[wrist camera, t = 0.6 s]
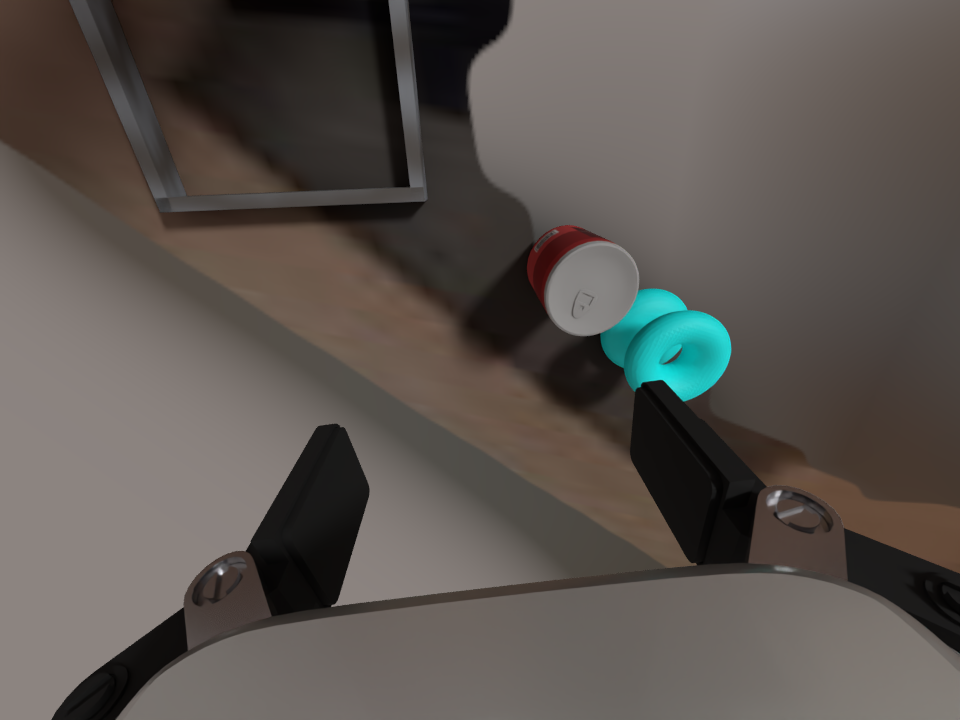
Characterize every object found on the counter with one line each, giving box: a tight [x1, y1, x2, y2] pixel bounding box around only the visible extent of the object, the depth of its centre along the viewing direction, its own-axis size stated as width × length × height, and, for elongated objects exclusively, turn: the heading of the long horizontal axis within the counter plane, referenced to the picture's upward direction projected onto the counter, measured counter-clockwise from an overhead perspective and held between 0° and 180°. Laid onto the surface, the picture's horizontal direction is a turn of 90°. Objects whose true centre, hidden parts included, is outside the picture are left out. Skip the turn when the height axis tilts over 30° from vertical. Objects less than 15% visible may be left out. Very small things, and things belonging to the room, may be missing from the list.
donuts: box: [600, 289, 731, 401], centre depth 38 cm, size 10×10×10 cm
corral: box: [69, 0, 427, 212], centre depth 28 cm, size 23×24×2 cm
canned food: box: [527, 225, 639, 336], centre depth 33 cm, size 8×8×11 cm
